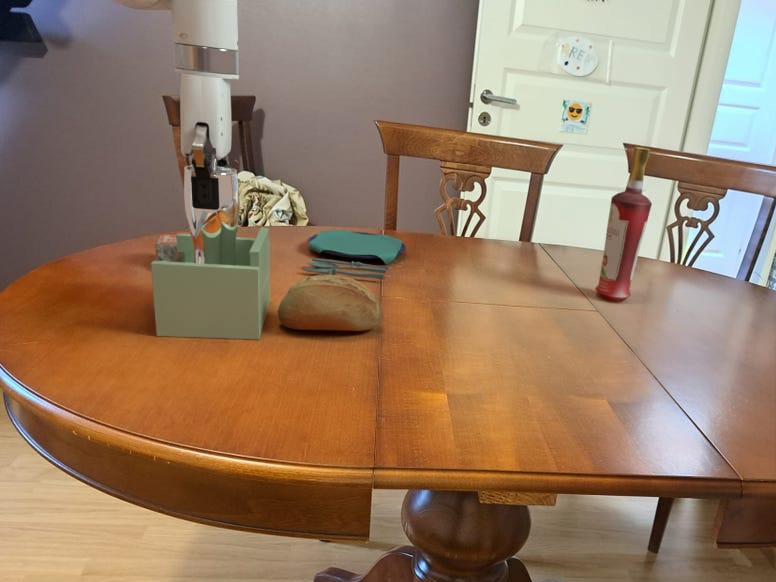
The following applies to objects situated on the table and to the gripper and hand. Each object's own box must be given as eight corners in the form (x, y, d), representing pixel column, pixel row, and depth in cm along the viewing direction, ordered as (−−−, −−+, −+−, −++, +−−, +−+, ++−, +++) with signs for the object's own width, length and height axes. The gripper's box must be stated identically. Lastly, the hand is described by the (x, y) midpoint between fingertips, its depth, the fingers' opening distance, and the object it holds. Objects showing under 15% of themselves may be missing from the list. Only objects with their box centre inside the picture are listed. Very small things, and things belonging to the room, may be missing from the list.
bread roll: (384, 343, 95) (388, 290, 91) (275, 340, 91) (275, 284, 88) (379, 319, 103) (382, 269, 100) (279, 315, 100) (279, 264, 96)
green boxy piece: (156, 336, 88) (149, 247, 83) (182, 297, 102) (177, 219, 97) (259, 339, 91) (258, 254, 86) (270, 301, 105) (269, 226, 100)
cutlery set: (410, 246, 147) (411, 236, 146) (393, 285, 119) (394, 273, 118) (320, 235, 146) (320, 225, 145) (282, 273, 119) (282, 260, 118)
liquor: (586, 291, 130) (614, 144, 119) (618, 292, 133) (649, 147, 122) (603, 304, 124) (635, 149, 113) (637, 304, 127) (671, 153, 116)
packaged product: (152, 244, 109) (156, 229, 117) (154, 272, 111) (158, 256, 119) (266, 246, 116) (262, 232, 124) (267, 273, 117) (263, 257, 126)
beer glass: (245, 271, 98) (242, 167, 92) (237, 286, 91) (234, 175, 85) (194, 268, 96) (188, 162, 90) (183, 283, 90) (176, 170, 84)
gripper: (188, 59, 90) (195, 187, 96) (157, 59, 74) (167, 212, 81) (246, 66, 91) (249, 192, 98) (228, 68, 76) (232, 217, 83)
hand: (212, 201), depth 90 cm, fingers open, 9 cm apart
